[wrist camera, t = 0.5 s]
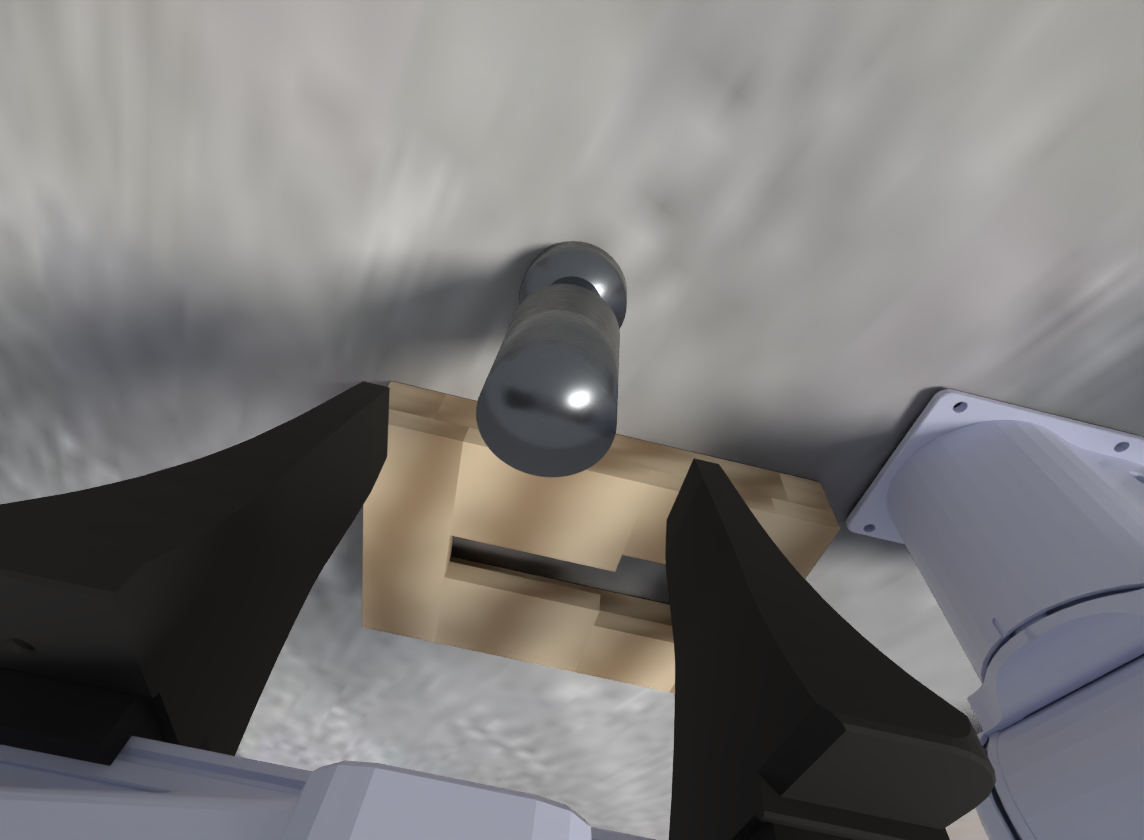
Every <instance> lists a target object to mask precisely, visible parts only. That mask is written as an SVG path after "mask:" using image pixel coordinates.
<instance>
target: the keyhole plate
mask: <svg viewBox="0 0 1144 840" xmlns="http://www.w3.org/2000/svg"><path fill="white" fill-rule="evenodd" d="M387 387H389V388H390V393H389V422H388V450H387V458H386V461H385V463H384V465H383V467H382V470H381V472H380V474H379V476H378V479H377V481H376V483H375V485H374V487H373V489H372V491H371V493H370V495H369V496H368V498H367V500H366V501H365V503H364V504H363V577H362V627H365V628H370V629H374V630H379V631H384V632H389V633H393V634H398V635H403V636H407V637H412V638H417V639H422V640H426V641H431V642H436V643H440V644H445V645H450V646H455V647H459V648H464V649H469V650H473V651H478V652H483V653H488V654H492V655H497V656H502V657H506V658H511V659H516V660H521V661H525V662H530V663H535V664H539V665H544V666H549V667H554V668H558V669H563V670H568V671H572V672H577V673H582V674H587V675H591V676H596V677H601V678H605V679H610V680H615V681H620V682H624V683H629V684H634V685H638V686H643V687H648V688H653V689H657V690H662V691H667V692H671V693H675V654H674V640H673V630H672V621H671V611H670V605H668V604H664V603H659V602H655V601H650V600H646V599H641V598H637V597H632V596H628V595H623V594H618V593H614V592H609V591H605V590H600V589H596V588H591V587H587V586H582V585H578V584H573V583H569V582H564V581H559V580H555V579H550V578H546V577H541V576H537V575H532V574H528V573H523V572H519V571H514V570H510V569H505V568H501V567H496V566H491V565H487V564H482V563H478V562H473V561H469V560H464V559H460V558H455V557H451V549H452V542H453V536H456V537H460V538H465V539H469V540H474V541H478V542H483V543H487V544H492V545H496V546H501V547H505V548H510V549H514V550H519V551H523V552H528V553H532V554H537V555H541V556H546V557H550V558H555V559H559V560H564V561H568V562H573V563H577V564H582V565H586V566H591V567H595V568H600V569H604V570H609V571H613V572H615V571H616V569H617V566H618V564H619V562H620V559H621V557H622V555H625V556H630V557H634V558H639V559H643V560H648V561H652V562H657V563H661V564H666V560H665V548H666V523H667V518H668V516H669V513H670V511H671V509H672V507H673V504H674V502H675V500H676V497H677V495H678V493H679V491H680V488H681V486H682V484H683V481H684V479H685V477H686V475H687V472H688V470H689V468H690V466H691V463H692V461H693V459H694V458H695V459H700V460H704V461H708V462H713V463H717V464H719V465H720V466H721V468H722V469H723V470H724V472H725V473H726V475H727V476H728V478H729V479H730V481H731V482H732V484H733V485H734V487H735V488H736V490H737V491H738V493H739V494H740V496H741V497H742V498H743V500H744V501H745V503H746V504H747V506H748V507H749V509H750V510H751V512H752V513H753V514H754V516H755V517H756V519H757V520H758V521H759V523H760V524H761V526H762V527H763V528H764V530H765V531H766V532H767V534H768V535H769V536H770V538H771V539H772V540H773V542H774V543H775V544H776V546H777V547H778V548H779V549H780V550H781V552H782V553H783V554H784V555H785V557H786V558H787V559H788V560H789V562H790V563H791V564H792V565H793V566H794V568H795V569H796V570H797V571H798V572H799V573H800V574H801V576H802V577H803V578H804V579H805V578H806V577H807V576H808V574H809V573H810V571H811V570H812V569H813V567H814V566H815V564H816V563H817V562H818V560H819V559H820V557H821V556H822V554H823V553H824V552H825V550H826V549H827V547H828V546H829V545H830V543H831V542H832V540H833V539H834V538H835V536H836V535H837V533H838V532H839V530H840V526H839V524H838V522H837V520H836V517H835V515H834V513H833V510H832V508H831V506H830V504H829V501H828V499H827V497H826V494H825V492H824V490H823V487H822V485H821V483H820V482H817V481H813V480H809V479H804V478H800V477H796V476H792V475H787V474H783V473H779V472H775V471H770V470H766V469H762V468H758V467H753V466H749V465H745V464H741V463H736V462H732V461H728V460H724V459H719V458H715V457H711V456H707V455H702V454H698V453H694V452H690V451H685V450H681V449H677V448H673V447H668V446H664V445H660V444H656V443H652V442H647V441H643V440H639V439H635V438H630V437H626V436H622V435H618V434H615V437H614V440H613V443H612V445H611V447H610V448H609V450H608V452H607V453H606V454H605V455H604V457H603V458H602V459H601V460H599V461H598V462H597V463H596V464H595V465H593V466H592V467H590V468H588V469H586V470H584V471H582V472H579V473H577V474H573V475H569V476H564V477H540V476H535V475H531V474H527V473H524V472H521V471H519V470H516V469H515V468H513V467H511V466H509V465H507V464H506V463H504V462H503V461H501V460H500V459H499V458H498V457H497V456H496V455H495V454H494V453H493V452H492V451H491V450H490V449H489V448H488V446H487V445H486V444H485V442H484V440H483V438H482V437H481V434H480V432H479V429H478V425H477V420H476V406H477V402H478V401H473V400H469V399H465V398H461V397H456V396H452V395H448V394H444V393H439V392H435V391H431V390H427V389H422V388H418V387H414V386H410V385H405V384H401V383H397V382H393V381H391V382H390V384H389V385H388V386H387Z"/></svg>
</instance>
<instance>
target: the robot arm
mask: <svg viewBox="0 0 1144 840" xmlns="http://www.w3.org/2000/svg"><path fill="white" fill-rule="evenodd" d="M389 393H390V388H389V387H385V386H380V385H376V384H372V383H367V382H362V383H360V384H358V385H356V386H354V387H352V388H350V389H348V390H346V391H345V392H343V393H341V394H339V395H337V396H335V397H334V398H332V399H330V400H328V401H326V402H325V403H323V404H321V405H319V406H317V407H315V408H313V409H311V410H310V411H308V412H306V413H304V414H302V415H300V416H298V417H296V418H294V419H292V420H290V421H288V422H286V423H284V424H282V425H280V426H277V427H275V428H273V429H271V430H269V431H267V432H265V433H263V434H260V435H258V436H256V437H254V438H252V439H249V440H247V441H245V442H242V443H240V444H237V445H235V446H232V447H230V448H227V449H225V450H222V451H219V452H217V453H214V454H211V455H208V456H206V457H203V458H200V459H197V460H194V461H191V462H188V463H184V464H181V465H178V466H174V467H171V468H168V469H164V470H161V471H158V472H154V473H151V474H148V475H144V476H140V477H137V478H133V479H128V480H124V481H120V482H116V483H112V484H108V485H103V486H99V487H94V488H90V489H85V490H81V491H76V492H71V493H65V494H60V495H54V496H48V497H42V498H37V499H31V500H25V501H19V502H13V503H7V504H1V505H0V840H655V839H650V838H645V837H640V836H635V835H630V834H624V833H619V832H614V831H609V830H604V829H599V828H594V827H590V825H589V824H588V823H587V822H586V820H585V819H584V818H582V817H581V816H580V815H579V814H577V813H576V812H575V811H574V810H572V809H571V808H570V807H569V806H567V805H565V804H562V803H559V802H556V801H553V800H550V799H547V798H544V797H541V796H538V795H534V794H529V793H524V792H519V791H514V790H509V789H504V788H499V787H494V786H489V785H484V784H479V783H474V782H469V781H464V780H459V779H454V778H449V777H444V776H440V775H435V774H430V773H425V772H420V771H415V770H410V769H405V768H400V767H395V766H390V765H385V764H380V763H369V762H356V761H342V762H338V763H334V764H330V765H327V766H323V767H320V768H318V769H316V770H314V771H307V770H302V769H297V768H292V767H287V766H282V765H277V764H272V763H267V762H262V761H257V760H252V759H247V758H242V757H236V756H235V754H236V752H237V749H238V747H239V744H240V742H241V740H242V737H243V735H244V732H245V730H246V728H247V725H248V723H249V721H250V718H251V716H252V713H253V711H254V709H255V707H256V705H257V702H258V700H259V698H260V696H261V693H262V691H263V689H264V687H265V684H266V682H267V680H268V678H269V675H270V673H271V671H272V669H273V666H274V664H275V662H276V660H277V658H278V656H279V654H280V652H281V649H282V647H283V645H284V643H285V641H286V639H287V637H288V635H289V633H290V630H291V628H292V626H293V624H294V622H295V620H296V618H297V616H298V614H299V612H300V610H301V608H302V606H303V604H304V602H305V600H306V598H307V596H308V594H309V592H310V590H311V588H312V586H313V584H314V582H315V581H316V579H317V577H318V576H319V574H320V572H321V570H322V569H323V567H324V565H325V564H326V562H327V561H328V559H329V558H330V556H331V555H332V553H333V551H334V550H335V548H336V547H337V545H338V544H339V542H340V540H341V539H342V537H343V536H344V534H345V533H346V531H347V530H348V528H349V526H350V525H351V523H352V522H353V520H354V519H355V517H356V515H357V514H358V512H359V511H360V509H361V508H362V506H363V504H364V503H365V501H366V500H367V498H368V496H369V495H370V493H371V491H372V489H373V487H374V485H375V483H376V481H377V479H378V476H379V474H380V472H381V470H382V467H383V465H384V463H385V461H386V458H387V450H388V422H389ZM959 402H962V404H961V405H959V406H957V407H954V405H955V404H956V403H959ZM1118 443H1120V444H1118ZM1117 444H1118V445H1117ZM869 524H871V525H869ZM846 525H847V527H848V529H849V530H850V531H851V532H854V533H858V534H862V535H866V536H871V537H875V538H879V539H884V540H888V541H892V542H897V543H901V544H905V545H906V547H907V549H908V550H909V552H910V554H911V556H912V558H913V559H914V561H915V563H916V565H917V567H918V568H919V570H920V572H921V574H922V576H923V577H924V579H925V581H926V583H927V585H928V587H929V588H930V590H931V592H932V594H933V596H934V597H935V599H936V601H937V603H938V605H939V606H940V608H941V610H942V612H943V614H944V615H945V617H946V619H947V621H948V623H949V625H950V626H951V628H952V630H953V632H954V634H955V635H956V637H957V639H958V641H959V643H960V644H961V646H962V648H963V650H964V652H965V653H966V655H967V657H968V659H969V661H970V663H971V664H972V666H973V668H974V670H975V672H976V673H977V675H978V677H979V679H980V681H981V682H982V686H981V687H980V688H979V689H978V690H977V691H976V692H975V693H973V694H972V695H970V696H969V697H968V698H967V700H968V702H969V704H970V706H971V708H972V710H973V711H974V713H975V715H976V717H977V719H978V721H979V723H980V725H981V727H982V729H983V731H982V732H980V733H978V734H976V732H975V730H974V728H973V726H972V724H971V722H970V721H969V719H968V717H967V716H966V715H965V714H963V713H962V712H960V711H959V710H958V709H956V708H955V707H953V706H952V705H951V704H949V703H948V702H946V701H945V700H944V699H942V698H941V697H939V696H938V695H937V694H935V693H934V692H932V691H931V690H930V689H928V688H927V687H926V686H924V685H923V684H921V683H920V682H919V681H917V680H916V679H914V678H913V677H912V676H911V675H909V674H908V673H907V672H905V671H904V670H903V669H902V668H900V667H899V666H898V665H897V664H895V663H894V662H893V661H892V660H890V659H889V658H888V657H887V656H885V655H884V654H883V653H882V652H881V651H879V650H878V649H877V648H876V647H875V646H874V645H872V644H871V643H870V642H869V641H868V640H867V639H865V638H864V637H863V636H862V635H861V634H860V633H859V632H857V631H856V630H855V629H854V628H853V627H852V626H851V625H850V624H849V623H848V622H847V621H846V620H845V619H843V618H842V617H841V616H840V615H839V614H838V613H837V612H836V611H835V610H834V609H833V608H832V607H831V606H830V605H829V604H828V603H827V602H826V601H825V600H824V599H823V598H822V597H821V596H820V595H819V594H818V593H817V592H816V591H815V590H814V589H813V587H812V586H811V585H810V584H809V583H808V582H807V581H806V580H805V579H804V578H803V577H802V576H801V574H800V573H799V572H798V571H797V570H796V569H795V568H794V566H793V565H792V564H791V563H790V562H789V560H788V559H787V558H786V557H785V555H784V554H783V553H782V552H781V550H780V549H779V548H778V547H777V546H776V544H775V543H774V542H773V540H772V539H771V538H770V536H769V535H768V534H767V532H766V531H765V530H764V528H763V527H762V526H761V524H760V523H759V521H758V520H757V519H756V517H755V516H754V514H753V513H752V512H751V510H750V509H749V507H748V506H747V504H746V503H745V501H744V500H743V498H742V497H741V496H740V494H739V493H738V491H737V490H736V488H735V487H734V485H733V484H732V482H731V481H730V479H729V478H728V476H727V475H726V473H725V472H724V470H723V469H722V468H721V466H720V465H719V464H717V463H713V462H708V461H704V460H700V459H695V458H694V459H693V461H692V463H691V466H690V468H689V470H688V472H687V475H686V477H685V479H684V481H683V484H682V486H681V488H680V491H679V493H678V495H677V497H676V500H675V502H674V504H673V507H672V509H671V511H670V513H669V516H668V518H667V523H666V548H665V560H666V571H667V582H668V592H669V602H670V611H671V621H672V630H673V640H674V654H675V720H674V756H673V778H672V800H671V815H670V830H669V840H950V839H949V837H948V834H947V832H946V829H945V827H947V826H948V825H950V824H951V823H953V822H954V821H956V820H957V819H959V818H960V817H962V816H964V815H965V814H967V813H968V812H970V811H971V810H973V809H974V808H976V810H977V813H978V815H979V818H980V820H981V823H982V825H983V827H984V829H985V831H986V833H987V835H988V837H989V839H990V840H1144V437H1142V436H1137V435H1133V434H1129V433H1125V432H1121V431H1117V430H1113V429H1109V428H1105V427H1101V426H1097V425H1093V424H1089V423H1085V422H1081V421H1077V420H1073V419H1069V418H1065V417H1061V416H1057V415H1053V414H1049V413H1045V412H1041V411H1037V410H1033V409H1029V408H1024V407H1020V406H1016V405H1012V404H1008V403H1004V402H1000V401H996V400H992V399H988V398H984V397H980V396H976V395H972V394H968V393H964V392H960V391H956V390H952V389H945V390H941V391H940V392H938V393H936V394H935V395H934V396H933V397H932V399H931V400H930V402H929V403H928V404H927V406H926V407H925V409H924V410H923V411H922V413H921V414H920V416H919V417H918V419H917V420H916V421H915V423H914V424H913V426H912V427H911V428H910V430H909V431H908V433H907V434H906V436H905V437H904V438H903V440H902V441H901V443H900V444H899V445H898V447H897V448H896V450H895V451H894V453H893V454H892V455H891V457H890V458H889V460H888V461H887V462H886V464H885V465H884V467H883V468H882V470H881V471H880V472H879V474H878V475H877V477H876V478H875V479H874V481H873V482H872V484H871V485H870V486H869V488H868V489H867V491H866V492H865V494H864V495H863V496H862V498H861V499H860V501H859V502H858V503H857V505H856V506H855V508H854V509H853V511H852V512H851V513H850V515H849V516H848V518H847V520H846ZM866 525H869V526H866Z"/></svg>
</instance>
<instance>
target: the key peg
mask: <svg viewBox="0 0 1144 840" xmlns="http://www.w3.org/2000/svg"><path fill="white" fill-rule="evenodd" d="M626 304H627V290H626V282H625V278H624V275H623V273H622V271H621V269H620V267H619V266H618V264H617V263H616V261H615V260H614V259H613V258H612V257H611V256H610V255H609V254H608V253H606V252H605V251H604V250H602V249H600V248H598V247H596V246H594V245H591V244H588V243H584V242H574V241H572V242H564V243H559V244H556V245H554V246H551V247H550V248H548V249H546V250H545V251H543V252H542V253H541V254H540V255H539V256H537V257H536V259H535V260H534V261H533V262H532V264H531V266H530V267H529V269H528V271H527V274H526V276H525V278H524V280H523V283H522V285H521V289H520V294H519V307H518V309H517V311H516V313H515V315H514V317H513V320H512V322H511V324H510V326H509V329H508V331H507V333H506V336H505V338H504V340H503V343H502V345H501V347H500V350H499V352H498V354H497V356H496V359H495V361H494V363H493V366H492V368H491V370H490V373H489V375H488V377H487V379H486V382H485V384H484V386H483V389H482V391H481V393H480V396H479V398H478V402H477V406H476V420H477V425H478V429H479V432H480V434H481V437H482V438H483V440H484V442H485V444H486V445H487V446H488V448H489V449H490V450H491V451H492V452H493V453H494V454H495V455H496V456H497V457H498V458H499V459H500V460H501V461H503V462H504V463H506V464H507V465H509V466H511V467H513V468H515V469H516V470H519V471H521V472H524V473H527V474H531V475H535V476H540V477H564V476H569V475H573V474H577V473H579V472H582V471H584V470H586V469H588V468H590V467H592V466H593V465H595V464H596V463H597V462H598V461H599V460H601V459H602V458H603V457H604V455H605V454H606V453H607V452H608V450H609V448H610V447H611V445H612V443H613V440H614V437H615V433H616V426H617V401H618V373H619V346H620V331H619V329H620V327H621V325H622V323H623V321H624V318H625V313H626Z"/></svg>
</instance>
